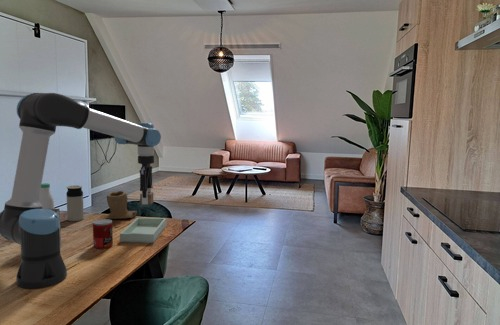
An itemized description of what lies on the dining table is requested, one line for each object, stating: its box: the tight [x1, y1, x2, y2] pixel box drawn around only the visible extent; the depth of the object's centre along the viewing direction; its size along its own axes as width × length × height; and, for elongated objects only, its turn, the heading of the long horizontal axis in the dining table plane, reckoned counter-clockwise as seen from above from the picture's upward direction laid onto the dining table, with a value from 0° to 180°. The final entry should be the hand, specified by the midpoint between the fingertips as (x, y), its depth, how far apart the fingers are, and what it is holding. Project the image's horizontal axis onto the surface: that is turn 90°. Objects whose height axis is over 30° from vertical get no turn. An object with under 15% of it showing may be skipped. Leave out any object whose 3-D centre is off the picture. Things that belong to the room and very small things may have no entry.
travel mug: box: [65, 184, 85, 222], centre depth 198 cm, size 8×8×18 cm
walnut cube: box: [139, 191, 154, 206], centre depth 180 cm, size 5×5×5 cm
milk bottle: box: [39, 183, 55, 209], centre depth 192 cm, size 8×8×20 cm
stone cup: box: [106, 190, 138, 220], centre depth 202 cm, size 15×12×15 cm
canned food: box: [92, 218, 114, 250], centre depth 160 cm, size 8×8×11 cm
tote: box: [119, 217, 168, 244], centre depth 178 cm, size 26×15×4 cm, turn 0°
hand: (146, 202), depth 180 cm, fingers closed on walnut cube, 5 cm apart
